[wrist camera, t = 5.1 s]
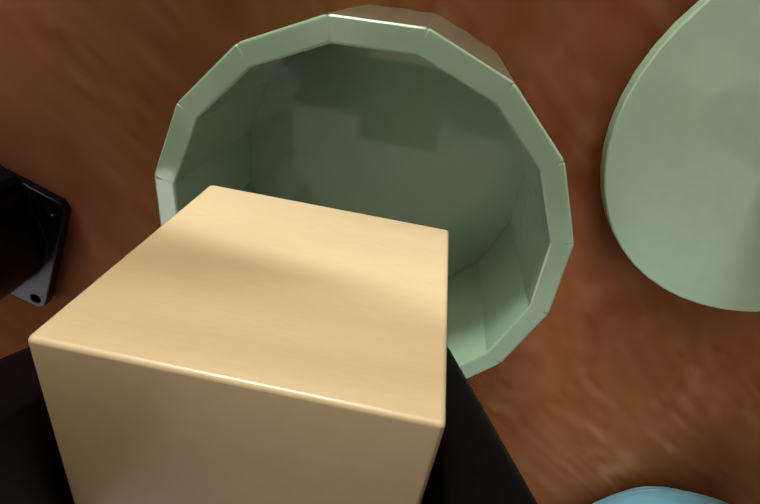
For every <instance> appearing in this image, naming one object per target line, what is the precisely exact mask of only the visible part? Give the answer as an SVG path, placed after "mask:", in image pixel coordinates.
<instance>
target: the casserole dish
mask: <svg viewBox="0 0 760 504" xmlns="http://www.w3.org/2000/svg"><path fill="white" fill-rule="evenodd" d="M592 504H729V503H726V502H724V501H721V500H718V499H716V498H713V497H709V496H705V495H702V494H698V493H693V492H689V491H682V490H679V489H674V488H669V487H655V486H647V487H638V488H632V489H629V490H625V491H622V492H619V493H616V494H613V495H610V496H608V497H606V498H604V499H601V500H599V501H597V502H594V503H592Z"/></svg>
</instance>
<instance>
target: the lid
mask: <svg viewBox="0 0 760 504" xmlns="http://www.w3.org/2000/svg"><path fill="white" fill-rule="evenodd" d="M600 190H601V196H602V202H603V209H604V212H605V215H606V218H607V221H608V224H609V227H610V229H611V231H612V232H613V234H614V236H615V238H616V240H617V242H618V244H619V245H620V247H621V249H622V250H623V251H624V253H625V254H626V255H627V257H628V258H629V259H630V261H631V262H632V263H633V264H634V265H635V266H636V267H637V268H638V269H639V270H640V271H641V272H642V273H643V274H644V275H645V276H646V277H647V278H649V279H650V280H652V281H653V282H655V283H656V284H657V285H659V286H660V287H662V288H663V289H665V290H667V291H669V292H671V293H673V294H675V295H677V296H679V297H681V298H684V299H687V300H690V301H693V302H696V303H698V304H702V305H706V306H710V307H715V308H719V309H726V310H735V311H743V312H760V0H699V1H698V2H697V3H696V4H694V5H693V6H692V7H691V8H690V9H689V10H688V11H687V12H686V13H685V14H683V15H682V16H681V17H680V18H679V19H678V20H677V21H676V22H675V23H674V24H673V25H672V26H671V27H670V28H669V29H668V30H667V31H666V33H665V34H664V35H663V36H662V37H661V38H660V39H659V40H658V42H657V43H656V44H655V45H654V46H653V47H652V48H651V50H650V51H649V53H648V54H647V55H646V57H645V58H644V59H643V61H642V62H641V64H640V65H639V66H638V68H637V69H636V71H635V72H634V74H633V75H632V77H631V79H630V81H629V82H628V84H627V86H626V88H625V90H624V91H623V93H622V95H621V97H620V99H619V101H618V104H617V106H616V108H615V111H614V113H613V115H612V118H611V120H610V123H609V127H608V130H607V134H606V137H605V141H604V144H603V151H602V158H601V165H600Z"/></svg>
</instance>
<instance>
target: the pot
mask: <svg viewBox="0 0 760 504" xmlns="http://www.w3.org/2000/svg"><path fill="white" fill-rule="evenodd" d="M154 175H155V186H156V194H157V202H158V210H159V217H160V225H161V226H162V225H163V224H165V223H166V222H167V221H168V220H169V219H171V218H172V217H173V216H174V215H175V214H177V213H178V212H179V211H180V210H182V209H183V208H184V207H185V206H186V205H188V204H189V203H190V202H191V201H192V200H194V199H195V198H196V197H197V196H198V195H200V194H201V193H202V192H203V191H204V190H206V189H207V188H208V187H209V186H212V185H214V186H219V187H224V188H230V189H235V190H240V191H245V192H250V193H256V194H261V195H266V196H271V197H277V198H282V199H287V200H292V201H297V202H303V203H308V204H313V205H318V206H323V207H329V208H334V209H339V210H344V211H350V212H355V213H360V214H365V215H370V216H376V217H381V218H386V219H391V220H396V221H402V222H407V223H412V224H417V225H423V226H428V227H433V228H438V229H443V230H447V231H448V233H449V252H448V313H447V347H448V348H449V349H450V351H451V353H452V354H453V356H454V358H455V360H456V361H457V363H458V365H459V367H460V368H461V370H462V372H463V374H464V375H465V377H466V379H468V378H470V377H472V376H474V375H476V374H479V373H481V372H483V371H485V370H487V369H489V368H492V367H494V366H496V365H498V364H499V363H501V362H502V361H503V360H504V359H505V358H506V357H507V356H508V355H509V354H510V353H511V352H512V351H513V350H514V349H515V348H516V347H517V346H518V345H519V344H520V343H521V342H522V341H523V340H524V339H525V338H526V337H527V336H528V335H529V334H530V332H531V331H532V330H533V329H534V328H535V327H536V326H537V325H538V324H539V323H540V322H541V321H542V320H543V319H544V318H545V317H546V316H547V314H548V313H549V312H550V309H551V307H552V304H553V301H554V298H555V296H556V293H557V290H558V287H559V284H560V282H561V279H562V276H563V273H564V271H565V268H566V265H567V262H568V260H569V257H570V254H571V251H572V248H573V242H574V238H573V229H572V220H571V211H570V202H569V193H568V184H567V175H566V166H565V163H564V160H563V157H562V156H561V154H560V152H559V151H558V149H557V147H556V146H555V144H554V143H553V141H552V139H551V138H550V136H549V134H548V133H547V131H546V130H545V128H544V126H543V125H542V123H541V121H540V120H539V118H538V116H537V115H536V113H535V112H534V110H533V108H532V107H531V105H530V104H529V102H528V100H527V99H526V97H525V96H524V94H523V93H522V91H521V89H520V88H519V86H518V85H517V83H516V82H515V80H514V78H513V77H512V75H511V74H510V72H509V70H508V69H507V67H506V66H505V64H504V63H503V61H502V59H501V58H500V56H499V55H498V54H497V53H496V51H494V50H493V49H491V48H490V47H488V46H487V45H485V44H484V43H482V42H480V41H479V40H477V39H476V38H475V37H473V36H472V35H471V34H469V33H468V32H467V31H465V30H463V29H461V28H459V27H458V26H456V25H454V24H453V23H451V22H449V21H448V20H446V19H445V18H443V17H442V16H440V15H439V14H437V15H436V14H435V13H430V12H422V11H415V10H410V9H406V8H395V7H385V6H378V5H371V4H368V5H361V6H356V7H352V8H348V9H344V10H339V11H335V12H331V13H327V14H323V15H320V16H317V17H313V18H310V19H307V20H304V21H301V22H298V23H295V24H292V25H289V26H286V27H282V28H279V29H276V30H273V31H270V32H267V33H264V34H261V35H258V36H255V37H252V38H248V39H245V40H242V41H240V42H239V43H238V44H235V45H234V46H233V47H232V48H231V49H230V50H229V51H228V52H227V53H226V54H225V55H224V56H223V57H222V58H221V59H220V60H219V61H218V62H217V63H216V64H215V65H214V66H213V67H212V68H211V69H210V70H209V71H208V72H207V73H206V74H205V75H204V76H203V77H202V78H201V79H200V80H199V81H198V82H197V83H196V84H195V85H194V86H193V87H192V88H191V89H190V90H189V91H188V92H187V93H186V94H185V95H184V96H183V97H182V98H181V99H180V100H179V102H178V103H177V104H176V107H175V110H174V114H173V117H172V120H171V123H170V126H169V130H168V133H167V136H166V139H165V142H164V145H163V149H162V152H161V155H160V158H159V161H158V164H157V168H156V171H155V174H154Z"/></svg>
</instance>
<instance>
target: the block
mask: <svg viewBox="0 0 760 504" xmlns="http://www.w3.org/2000/svg"><path fill="white" fill-rule="evenodd" d="M448 252H449V233H448V231H447V230H443V229H438V228H433V227H428V226H423V225H417V224H412V223H407V222H402V221H396V220H391V219H386V218H381V217H376V216H370V215H365V214H360V213H355V212H350V211H344V210H339V209H334V208H329V207H323V206H318V205H313V204H308V203H303V202H297V201H292V200H287V199H282V198H277V197H271V196H266V195H261V194H256V193H250V192H245V191H240V190H235V189H230V188H224V187H219V186H214V185H212V186H209V187H208V188H207V189H206V190H204V191H203V192H202V193H201V194H200V195H198V196H197V197H196V198H195V199H194V200H192V201H191V202H190V203H189V204H188V205H186V206H185V207H184V208H183V209H182V210H180V211H179V212H178V213H177V214H175V215H174V216H173V217H172V218H171V219H169V220H168V221H167V222H166V223H165V224H163V225H162V226H161V227H160V228H159V229H157V230H156V231H155V232H154V233H153V234H151V235H150V236H149V237H148V238H147V239H145V240H144V241H143V242H142V243H141V244H139V245H138V246H137V247H136V248H135V249H133V250H132V251H131V252H130V253H129V254H127V255H126V256H125V257H124V258H123V259H121V260H120V261H119V262H118V263H117V264H115V265H114V266H113V267H112V268H111V269H109V270H108V271H107V272H106V273H105V274H103V275H102V276H101V277H100V278H99V279H97V280H96V281H95V282H94V283H93V284H91V285H90V286H89V287H88V288H87V289H85V290H84V291H83V292H82V293H81V294H79V295H78V296H77V297H76V298H75V299H73V300H72V301H71V302H70V303H69V304H67V305H66V306H65V307H64V308H63V309H61V310H60V311H59V312H58V313H57V314H55V315H54V316H53V317H52V318H51V319H49V320H48V321H47V322H46V323H45V324H43V325H42V326H41V327H40V328H38V329H37V330H36V331H35V332H34V333H32V334H31V335H30V337H29V339H28V343H29V347H30V350H31V354H32V357H33V361H34V364H35V368H36V371H37V375H38V378H39V382H40V385H41V389H42V392H43V396H44V399H45V403H46V406H47V410H48V413H49V417H50V420H51V424H52V427H53V431H54V434H55V438H56V441H57V445H58V448H59V452H60V455H61V459H62V462H63V466H64V469H65V473H66V476H67V480H68V483H69V487H70V490H71V494H72V497H73V501H74V504H421V502H422V499H423V496H424V492H425V489H426V486H427V483H428V480H429V476H430V473H431V470H432V467H433V464H434V461H435V457H436V454H437V451H438V448H439V445H440V442H441V438H442V435H443V432H444V429H445V426H446V375H447V313H448Z"/></svg>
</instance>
